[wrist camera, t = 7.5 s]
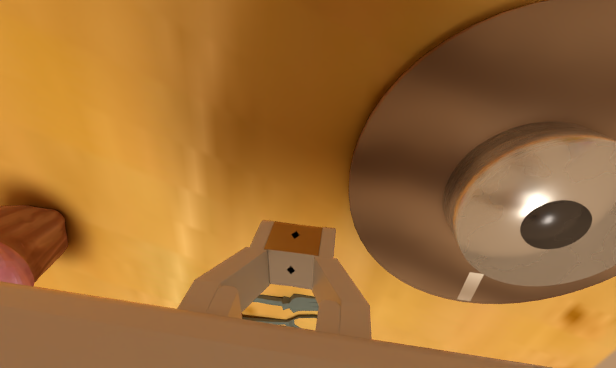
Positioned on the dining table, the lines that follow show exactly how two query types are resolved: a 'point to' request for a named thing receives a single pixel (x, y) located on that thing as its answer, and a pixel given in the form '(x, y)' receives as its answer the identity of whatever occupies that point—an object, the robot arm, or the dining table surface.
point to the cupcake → (29, 242)
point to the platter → (476, 134)
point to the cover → (536, 204)
